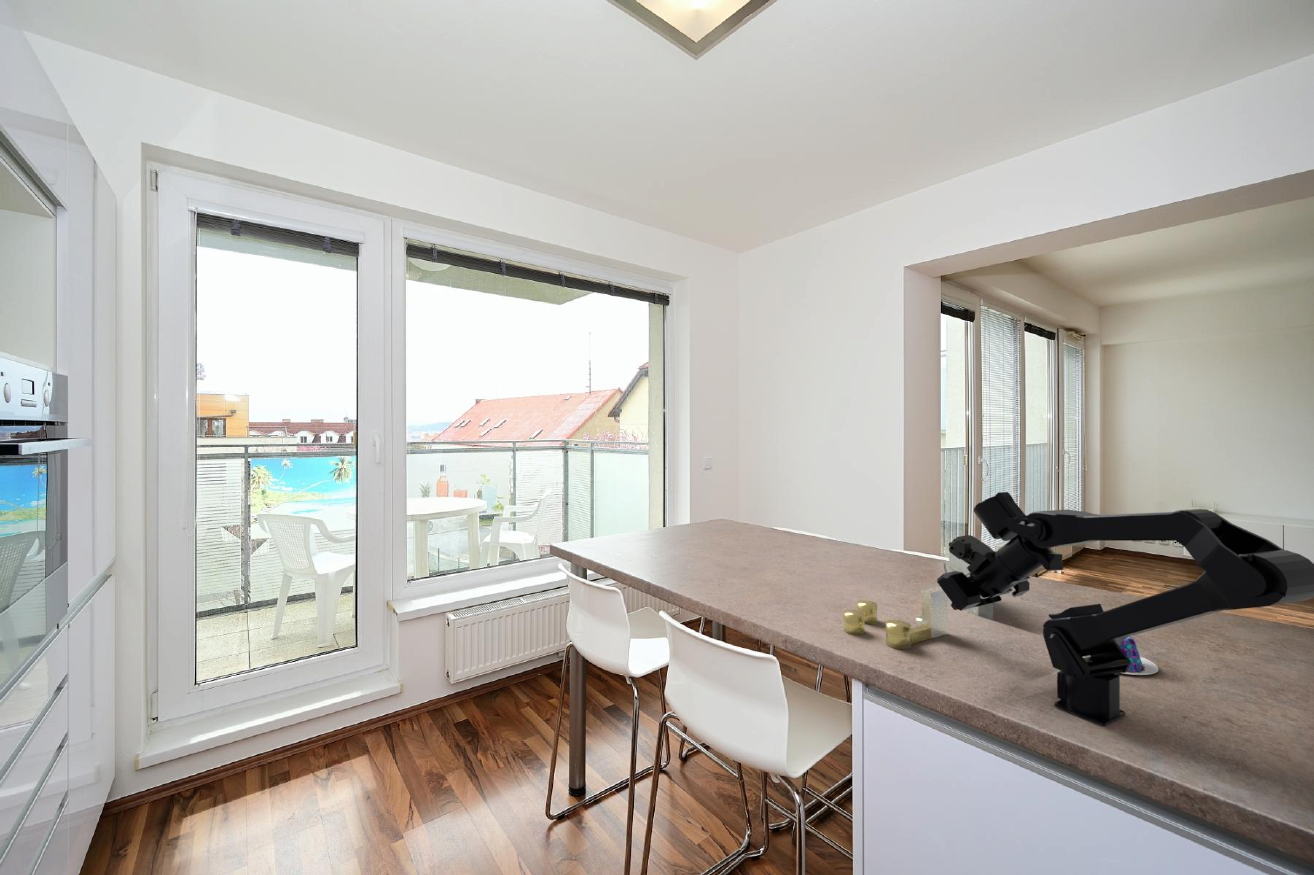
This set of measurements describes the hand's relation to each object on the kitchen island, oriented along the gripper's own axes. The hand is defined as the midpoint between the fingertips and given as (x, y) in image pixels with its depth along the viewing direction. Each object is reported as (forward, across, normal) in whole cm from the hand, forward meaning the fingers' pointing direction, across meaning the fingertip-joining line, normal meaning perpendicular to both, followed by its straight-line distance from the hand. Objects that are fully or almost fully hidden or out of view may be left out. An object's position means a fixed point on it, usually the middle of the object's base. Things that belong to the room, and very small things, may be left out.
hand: (953, 607), depth 102 cm
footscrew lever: (+9, +4, +1) cm, 9 cm away
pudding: (-5, -21, +18) cm, 28 cm away
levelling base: (+12, +3, 0) cm, 12 cm away
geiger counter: (+18, -28, -6) cm, 34 cm away
